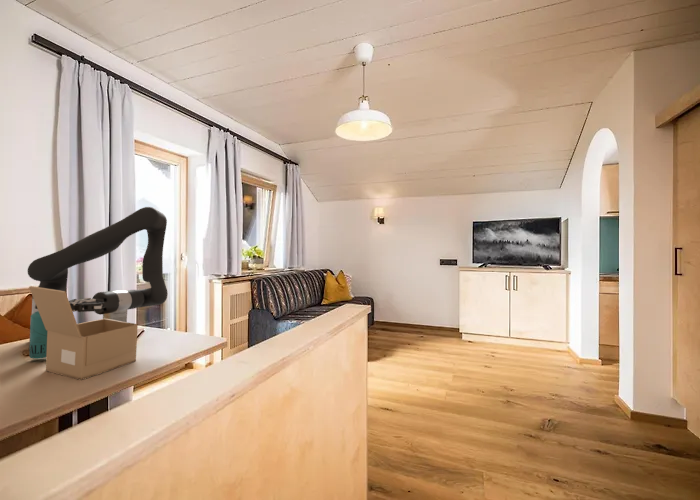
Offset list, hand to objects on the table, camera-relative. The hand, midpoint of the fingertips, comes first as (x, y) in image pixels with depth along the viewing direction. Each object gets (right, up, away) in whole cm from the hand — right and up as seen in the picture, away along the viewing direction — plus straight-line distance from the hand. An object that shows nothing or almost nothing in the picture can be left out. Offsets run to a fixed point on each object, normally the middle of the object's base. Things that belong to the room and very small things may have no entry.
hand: (56, 308), depth 102 cm
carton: (+2, -21, +12) cm, 24 cm away
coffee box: (-16, -19, +48) cm, 54 cm away
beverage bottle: (-17, -20, +14) cm, 30 cm away
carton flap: (0, -1, 0) cm, 1 cm away
